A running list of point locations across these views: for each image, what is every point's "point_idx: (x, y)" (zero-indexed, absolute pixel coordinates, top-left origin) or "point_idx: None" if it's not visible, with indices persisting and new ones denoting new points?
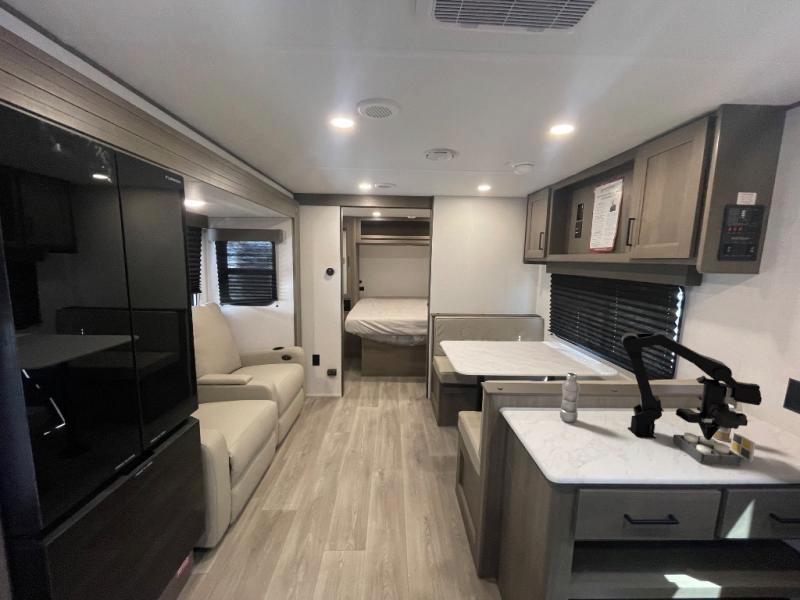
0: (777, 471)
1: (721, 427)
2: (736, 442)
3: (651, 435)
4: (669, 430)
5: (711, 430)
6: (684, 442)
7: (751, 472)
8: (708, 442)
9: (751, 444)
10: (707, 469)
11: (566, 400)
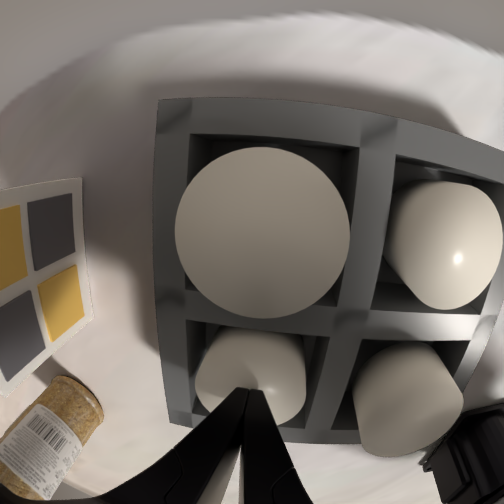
0: (30, 111)
1: (80, 500)
2: (38, 322)
3: (465, 427)
4: None
5: (214, 482)
6: (482, 350)
7: (180, 52)
8: (281, 358)
9: None
10: (482, 98)
11: None
